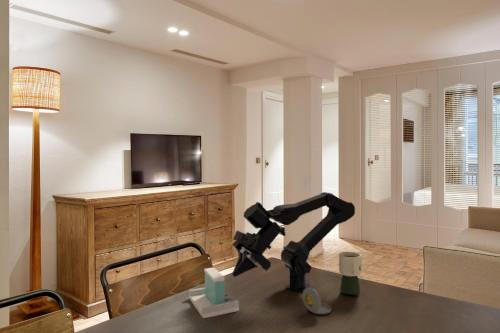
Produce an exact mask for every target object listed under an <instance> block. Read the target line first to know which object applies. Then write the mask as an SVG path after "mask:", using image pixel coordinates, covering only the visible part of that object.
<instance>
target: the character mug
mask: <svg viewBox="0 0 500 333" xmlns="http://www.w3.org/2000/svg"><path fill="white" fill-rule="evenodd" d="M338 271H339V273H340V275H342V276H341V281H340V290H339V291H340V292H341V293H343V294H346V295H350V296H352V295H353V296H357V295H360V293H361V289H360V286H361V285H360V280H359V279H360V278H359V277H358V276H360V275H361V274H362V254H361V253H359V252H356V251H347V250H346V251H341V252H339V253H338Z"/></svg>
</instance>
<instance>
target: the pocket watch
mask: <svg viewBox="0 0 500 333" xmlns="http://www.w3.org/2000/svg"><path fill="white" fill-rule="evenodd" d="M310 282H311V283H310ZM307 284H309V287H308V288H306V289H305V290H304V291H303V292H302V302H303V305H304V307H305V309H307V310H308V311H309V312H311V313H313V314H315V315H327V314H329V313H331V311H332V307H331V305H329V304H327V303H325V302H322V300H321V296H320V295H319V292H318V291H317V290H316V289H315V288H313V287H314V286H315V285H316V284H315V282H314V281H313V280H311V279H308V280H307Z"/></svg>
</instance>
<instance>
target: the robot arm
mask: <svg viewBox="0 0 500 333" xmlns="http://www.w3.org/2000/svg"><path fill="white" fill-rule="evenodd" d="M323 207H326V208H328V211H327V214H326V215H325V217H324V218H322V219H321V220H320V221H319V222H318V223H317V224H316V225H315V226H314V227H313V228H312V229H311V230H309V232H307V233H306V234H305V235H304V236H303V237H302V239H300V240H299V241H297V242H296V241H294V240H290V241H289V242H288V243H287V244H286V245H285V246H283V247H282V248H283V250H282V251H281V253H280V260H281V263H282V264H284V266H285V268H287V269H289V270H288V274H289V275H288V284H287V285H286V286H285V290H291V291H296V292H299V293H303V291H304V290H305V289H306V288H310V284H309V283H307V281H306V280H307V274H310V272H311V270H312V266H311V264H310V263H308V262H307V261H308V259H309V256H310V252H311V251H312V250H313V249H314V248H315V247H316V246H317V245H318V244H319V243H320V242H322V240H323V239H324V238H325V237H326V236H327V235H329V233H331V232H332V231H333V229H334V228H335V227H337V226H338V225H340V224H342V223H345V222H348V221H349V220H350V219H352V218H353V217H354V215H355V214H356V212H355V211H356V207H355V204H354V203H352V202H349V201H345V200H343V199H342V198H340V197H337V196H336V195H334V194H333V193H331V192H325V191H323V192H320V194H317V195H314V196H311V197H309V198H306V199H304V200H302V201H301V200H300V201H298V202H295V203H287V204H285V203H284V204H280V205H275V206H274V207H273V208H272V209H268V210H267V209H266V208H265V207H264V206H263V205H262V203H261V202H259V201H256V202H255V204H252V205H251V206H249V207H248V208H246V210H245V211H244V212H243V217H244V219H246V221H247V222H248V223H249V224H250V225H251V226H252V227H253V228H255V229H259V230H258V231H257V233H256V232H253V233H251V232H249V231H247V232H243V231H239V230H236V231H235V234H234V236H233V238H232V240H233V241H234V242H233V243H232V244H231V246H232V247H233V248H234V249H236V250H237V251H236V252H237V254H238V256H237V257H238V259H237V261H236V264H235V266H234V269H233V271H232V276H233V277H238V276H240V275H242V274H244V273H246V272H249V271H251V270H252V269H255V268H258V265H259V266H261V269H263V270H264V271H265V272H268V271H269V269H270V268H271V266H272V265H271V263H272V262H271V261H270V260H269V259H268V258H267V257H265V255H263V254H264V253H265V251H266V250H267V249H268V250H270V249H272V245H271V244H272V243H273V242H274V240H276V238H277V237H278V235H281V236H282V237H286V231H285V230H286V228H285V227H284V226H289V225H291V224H293V223H295V222H296V221H298V219H299V218H300V217H302V216H303V215H306V214H308V213H310V212H314V211H316V210H318V209H321V208H323ZM279 224H281V225H284V226H280V225H279Z"/></svg>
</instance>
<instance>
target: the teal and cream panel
mask: <svg viewBox="0 0 500 333" xmlns="http://www.w3.org/2000/svg"><path fill="white" fill-rule="evenodd" d="M203 272H204V287H205V295H206V296H207V298H208V299H209V300H210V301H211V302H212V304H213V305H216V304H221V303H225V292H226V290H225V289H226V288H225V286H226V285H225V283H226V282H225V281H226V279H225V278H226V277H225V276H224V275H222V274H221V272H219V271H218V270H217V268H215V267H207V268H203Z"/></svg>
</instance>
